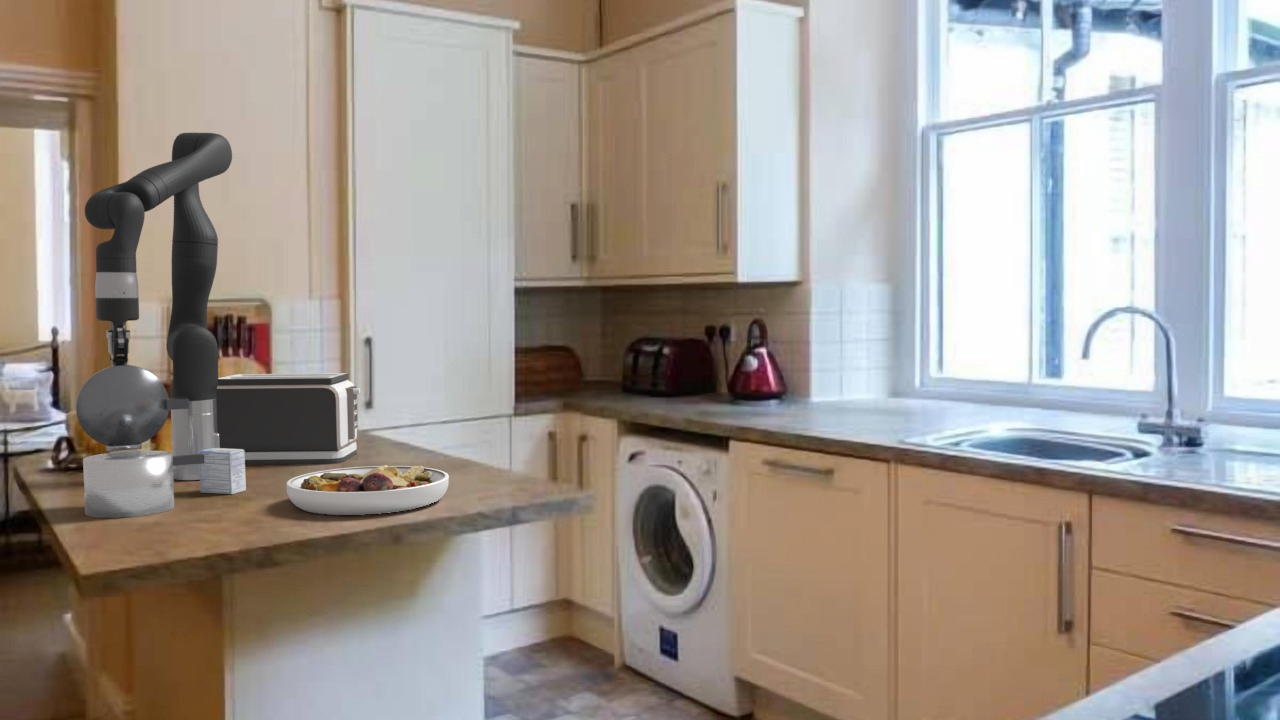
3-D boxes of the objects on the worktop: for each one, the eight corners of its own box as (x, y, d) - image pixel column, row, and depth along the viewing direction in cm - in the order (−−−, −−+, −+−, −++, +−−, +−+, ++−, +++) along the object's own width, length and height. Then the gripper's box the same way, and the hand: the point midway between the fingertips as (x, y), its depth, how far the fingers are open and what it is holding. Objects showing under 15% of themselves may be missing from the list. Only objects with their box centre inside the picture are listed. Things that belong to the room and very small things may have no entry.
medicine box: (246, 491, 218) (245, 449, 217) (231, 495, 213) (230, 452, 213) (215, 489, 220) (213, 447, 220) (199, 493, 216) (198, 450, 215)
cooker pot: (197, 494, 214) (195, 445, 213) (211, 508, 199) (209, 455, 199) (82, 505, 203) (80, 453, 203) (87, 521, 189) (85, 465, 188)
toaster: (351, 464, 252) (349, 378, 251) (203, 466, 252) (200, 379, 250) (370, 452, 272) (368, 372, 271) (232, 454, 271) (230, 373, 270)
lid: (189, 446, 211) (186, 441, 213) (188, 363, 207) (186, 360, 210) (77, 454, 201) (76, 449, 204) (75, 367, 197) (74, 363, 200)
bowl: (280, 496, 213) (279, 457, 212) (430, 485, 224) (429, 448, 224) (295, 526, 185) (294, 481, 185) (465, 511, 197) (465, 469, 196)
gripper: (142, 296, 204) (144, 386, 205) (135, 296, 215) (137, 382, 216) (98, 295, 200) (100, 388, 201) (93, 296, 211) (95, 383, 212)
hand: (119, 385), depth 208 cm, fingers closed
